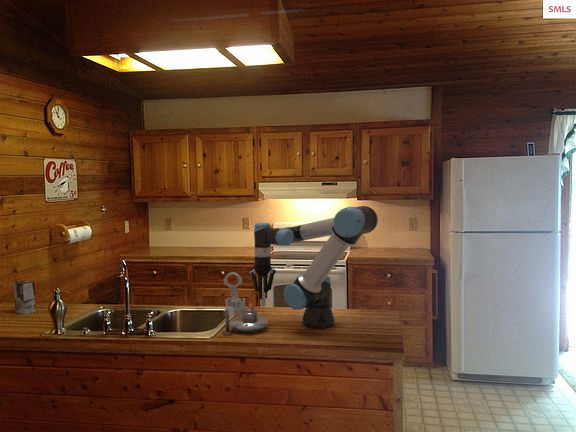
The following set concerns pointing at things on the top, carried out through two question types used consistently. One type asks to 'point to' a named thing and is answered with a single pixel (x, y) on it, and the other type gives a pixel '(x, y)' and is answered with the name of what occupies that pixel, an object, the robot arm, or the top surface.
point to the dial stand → (228, 312)
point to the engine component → (235, 295)
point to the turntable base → (249, 331)
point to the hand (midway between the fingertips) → (263, 305)
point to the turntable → (239, 325)
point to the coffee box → (24, 297)
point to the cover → (249, 316)
